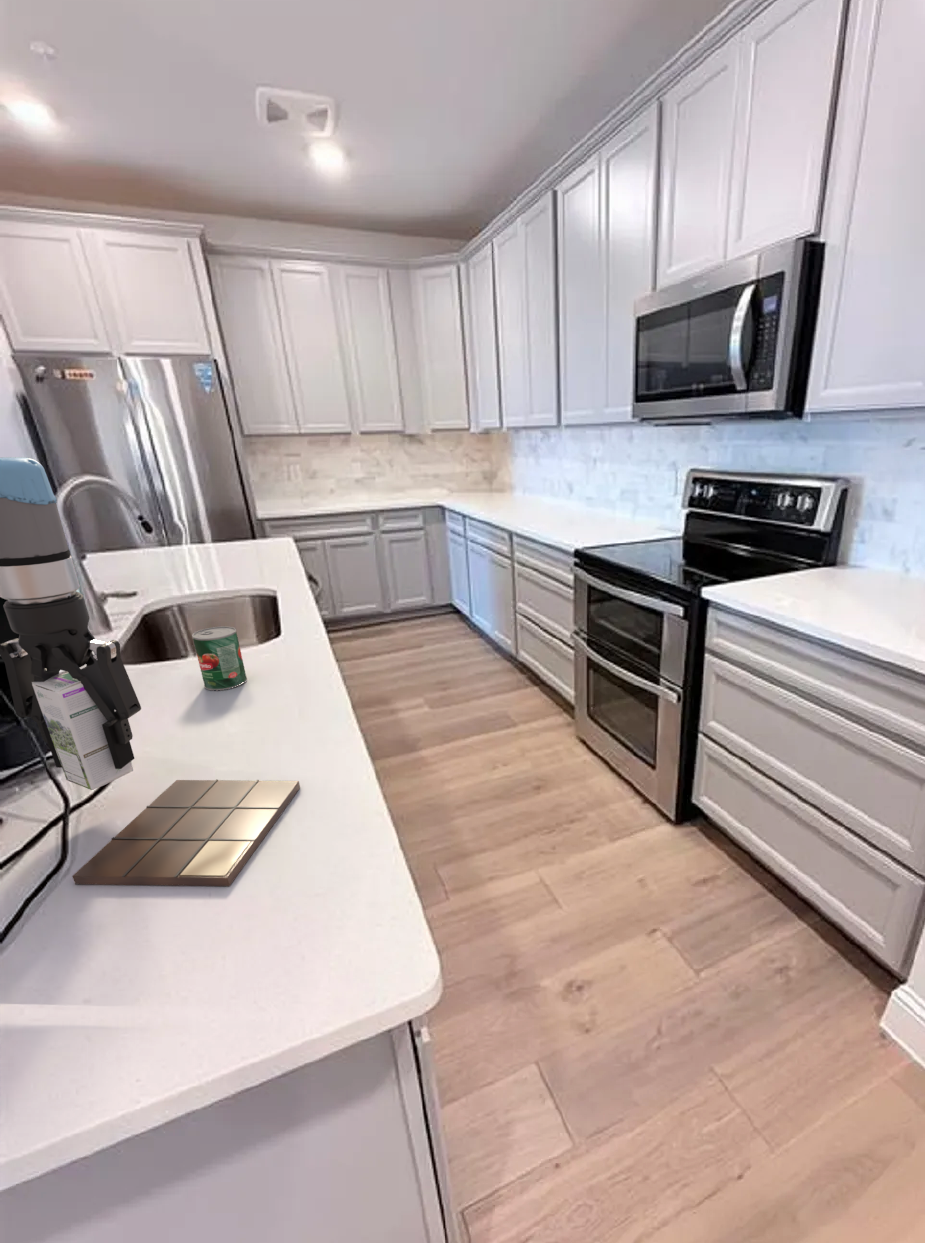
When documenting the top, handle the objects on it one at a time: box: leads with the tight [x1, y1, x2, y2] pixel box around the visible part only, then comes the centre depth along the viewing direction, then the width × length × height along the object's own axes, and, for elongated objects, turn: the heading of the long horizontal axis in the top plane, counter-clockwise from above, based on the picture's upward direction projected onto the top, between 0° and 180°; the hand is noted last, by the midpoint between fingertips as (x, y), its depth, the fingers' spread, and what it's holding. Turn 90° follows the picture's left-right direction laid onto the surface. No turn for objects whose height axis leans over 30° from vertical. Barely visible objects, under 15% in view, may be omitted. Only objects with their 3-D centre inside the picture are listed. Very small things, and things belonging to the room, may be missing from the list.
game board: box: [71, 779, 301, 887], centre depth 76 cm, size 18×20×1 cm
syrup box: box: [32, 671, 134, 791], centre depth 77 cm, size 6×6×14 cm
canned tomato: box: [191, 625, 248, 691], centre depth 119 cm, size 8×8×11 cm
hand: (96, 762), depth 79 cm, fingers closed on syrup box, 7 cm apart
